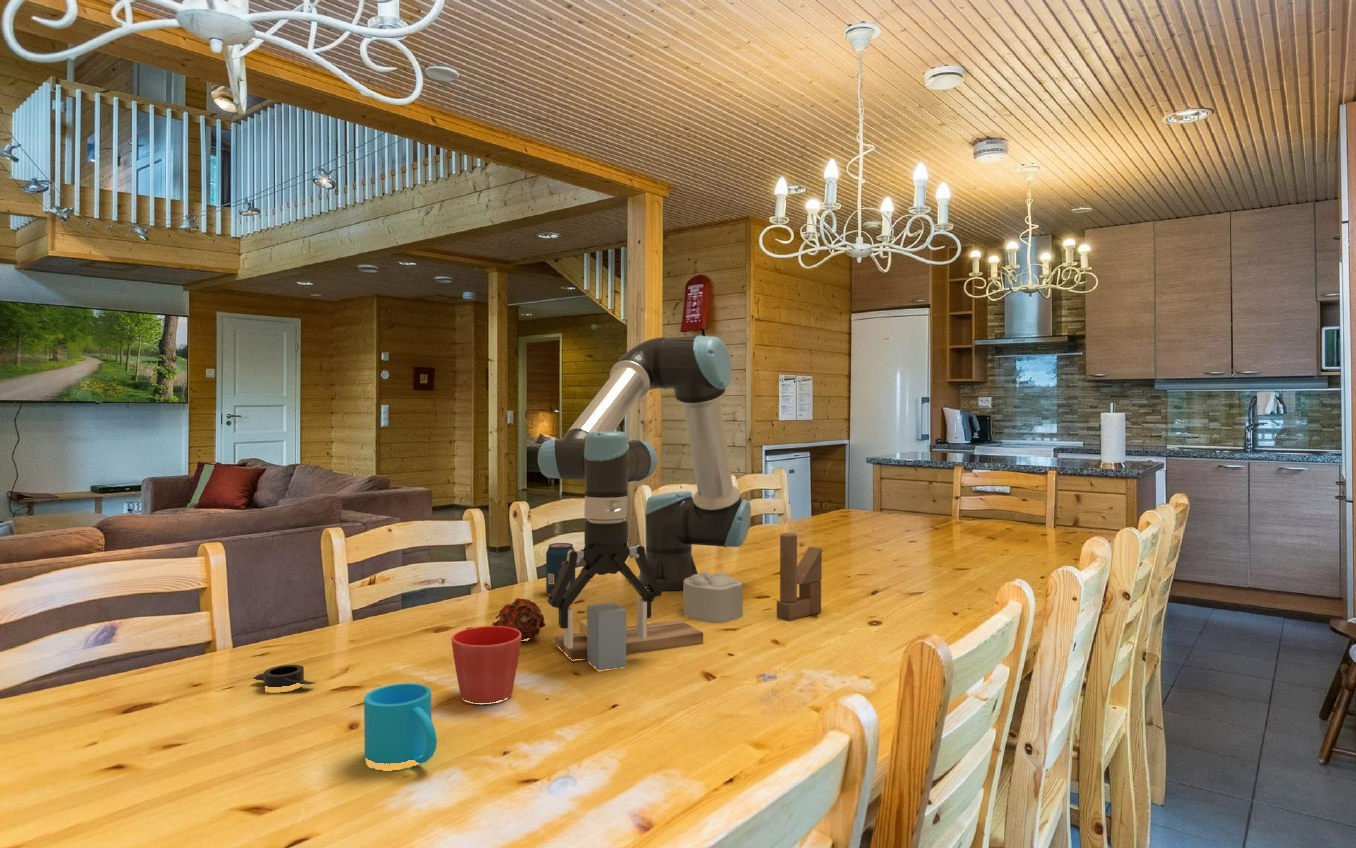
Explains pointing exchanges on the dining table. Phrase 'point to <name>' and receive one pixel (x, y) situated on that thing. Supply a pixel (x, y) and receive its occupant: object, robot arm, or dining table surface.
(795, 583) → the wooden block
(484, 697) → the flower pot
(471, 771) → the dining table surface
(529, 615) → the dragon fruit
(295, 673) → the black winged ring
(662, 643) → the board
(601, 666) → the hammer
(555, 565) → the soda can
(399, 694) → the mug
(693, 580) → the paw mold
